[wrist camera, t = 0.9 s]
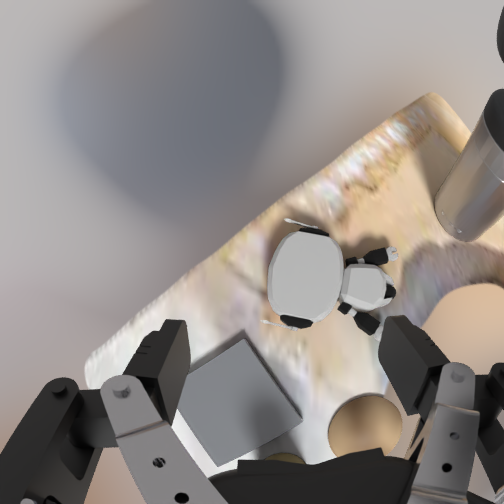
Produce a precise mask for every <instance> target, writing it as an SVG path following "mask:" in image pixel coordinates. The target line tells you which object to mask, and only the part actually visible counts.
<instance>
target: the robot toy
mask: <svg viewBox="0 0 504 504" xmlns="http://www.w3.org/2000/svg"><path fill="white" fill-rule="evenodd" d="M284 220H285V221H286V222H289V223H290V222H291V223H294V224H298V225H301V226H304V227H307V228H300V230H299V231H297V232H292V233H289V234H288V235H287V236H285V237H284V238H283V239H282V241H281V242H280V243H279V245H278V247H277V249H276V251H275V253H274V255H273V258H272V260H271V263H270V265H269V270H268V283H267V289H268V299H269V302H270V304H271V307H272V309H273V311H274V312H275V313H276V314H278V315H279V316H280V320H281V321H282V322H283V323H285V324H286V325H288V326H285V325H280V324H276V323H272V322H268V321H265V320H260V321H261V322H262V323H266V324H272V325H276V326H280V327H285V328H289V329H291V330H294V331H298V328H300V329H302V328H307V327H311V325H312V324H313V323H315V322H319V321H322V320H323V319H324V318H325V317H326V316H327V315H328V314H329V313H330V312H331V311H332V309H333V308H334V306H335V304H336V302H337V299H338V300H339V302H340V306H339V307H338V309H337V310H339V311H340V312H342V313H343V314H344V315H345V314H347V313H348V314H350V315H351V316H352V317H353V318H354V320H355V322H356V324H357V326H358V327H359V328H360V329H361V330H363V331H364V332H365V333H367V334H368V335H369V336H371V335H372V334H373V336H374V338H375V340H377V341H380V340H381V336H382V335H380V334H381V332H383V327H384V326H382V325H379V324H380V322H379V321H378V320H376V319H375V318H374V317H372V316H371V315H369V314H368V313H363V312H368V311H371V310H373V309H375V308H378V307H383V306H385V305H387V304H389V302H390V301H391V299H393V298H394V297H395V295H396V289H395V288H394V287H392V286H393V285H394V283H393V280H392V278H391V277H390V276H388V275H387V274H385V273H384V272H383V271H382V270H381V268H379V267H377V266H378V265H382V264H386V263H387V262H388V260H389V261H395V260H396V259H397V258H398V253H397V254H394V255H392V252H396V251H397V250H396V248H395V247H387V248H386V249H385V247H384V248H380V249H377V250H373V251H370V252H369V253H367V254H366V255H365V256H364V257H363V258H361V259H357V258H356V257H352V258H348V259H346V261H345V262H346V267H347V268H346V269H345V270H344V264H343V256H342V252H341V249H340V247H339V245H338V243H337V242H336V241H335V240H333V239H331V238H330V237H329V234H328V233H326V232H324V231H323V230H321V229H318V227H317V226H309V225H306V224H303V223H300V222H296V221H293V220H291V219H288V218H287V219H284ZM355 310H357V311H361V312H357V311H355ZM289 326H290V327H289Z"/></svg>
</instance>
